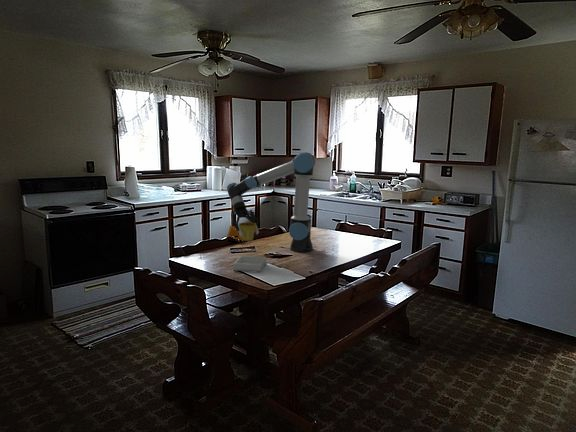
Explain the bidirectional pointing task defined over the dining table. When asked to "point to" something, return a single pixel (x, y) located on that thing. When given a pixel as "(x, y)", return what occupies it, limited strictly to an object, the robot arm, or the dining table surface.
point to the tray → (249, 263)
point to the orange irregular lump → (234, 233)
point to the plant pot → (247, 230)
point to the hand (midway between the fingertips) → (249, 234)
